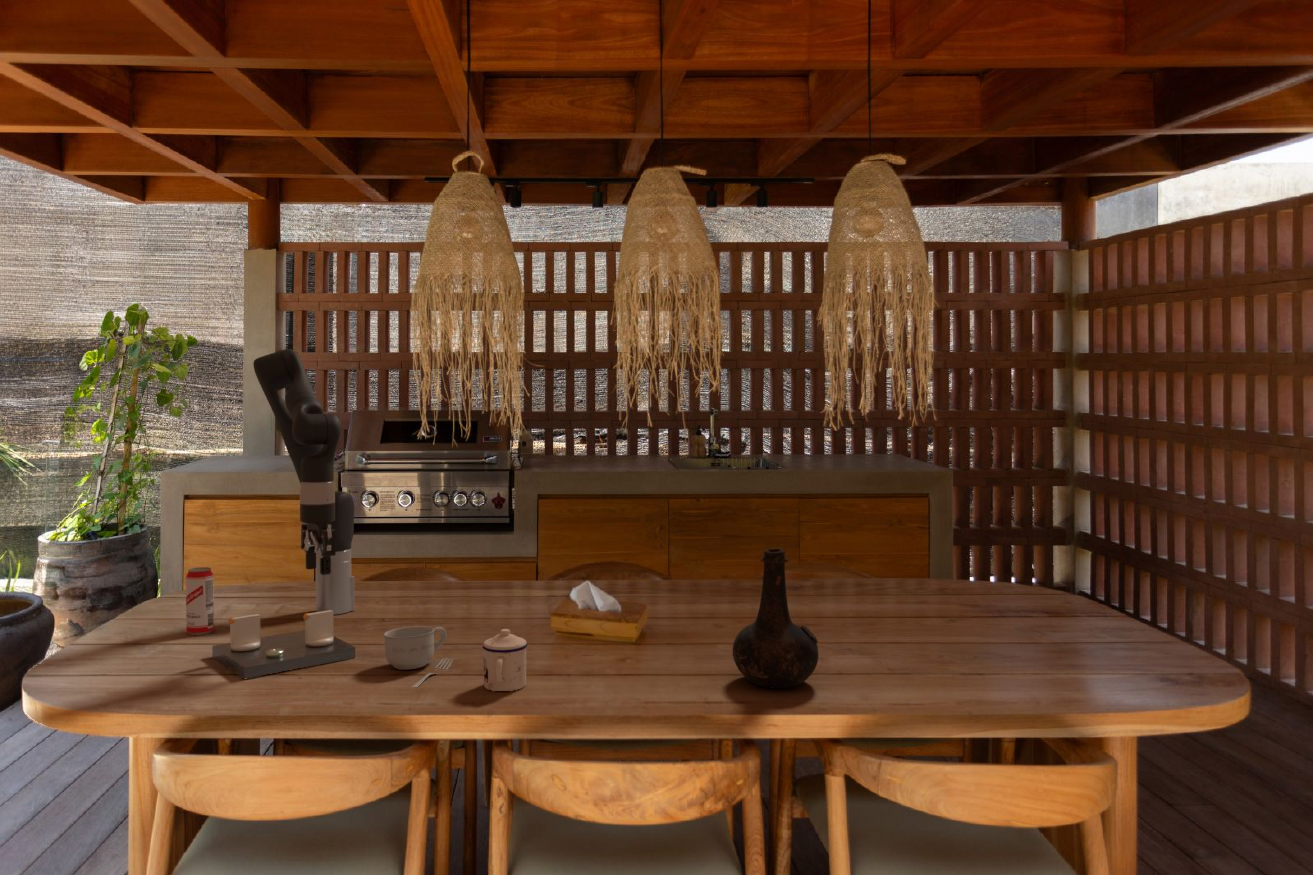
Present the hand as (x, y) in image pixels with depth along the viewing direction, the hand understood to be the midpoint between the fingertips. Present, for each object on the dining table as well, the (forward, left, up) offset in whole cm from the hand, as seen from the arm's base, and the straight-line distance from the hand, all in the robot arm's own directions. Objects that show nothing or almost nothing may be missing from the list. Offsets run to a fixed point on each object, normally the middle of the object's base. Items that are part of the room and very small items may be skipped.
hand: (318, 571), depth 205 cm
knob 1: (+14, -7, -17) cm, 23 cm away
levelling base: (+7, -3, -19) cm, 21 cm away
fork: (-9, +33, -20) cm, 40 cm away
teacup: (-13, +22, -20) cm, 32 cm away
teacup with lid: (-19, +48, -19) cm, 55 cm away
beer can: (+15, -38, -19) cm, 45 cm away
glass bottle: (-64, +82, -20) cm, 106 cm away
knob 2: (0, 0, -17) cm, 17 cm away
